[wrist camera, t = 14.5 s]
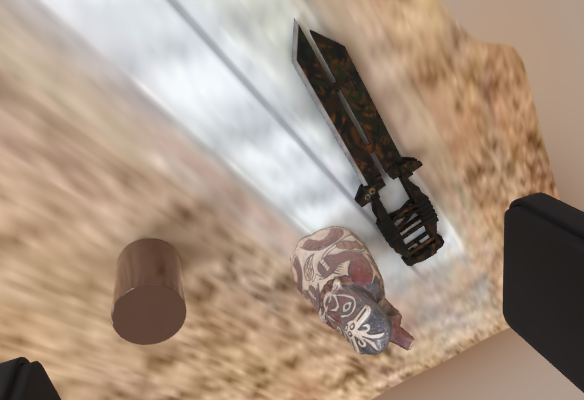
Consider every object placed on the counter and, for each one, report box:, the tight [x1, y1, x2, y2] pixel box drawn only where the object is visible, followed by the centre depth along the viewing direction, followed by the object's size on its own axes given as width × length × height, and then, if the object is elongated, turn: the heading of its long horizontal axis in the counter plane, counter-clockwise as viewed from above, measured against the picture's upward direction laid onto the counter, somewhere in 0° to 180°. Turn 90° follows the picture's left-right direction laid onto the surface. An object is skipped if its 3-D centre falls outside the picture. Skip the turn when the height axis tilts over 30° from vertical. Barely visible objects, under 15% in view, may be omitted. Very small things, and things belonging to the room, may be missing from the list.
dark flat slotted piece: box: [292, 18, 444, 266], centre depth 40 cm, size 25×6×1 cm, turn 26°
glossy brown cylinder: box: [111, 239, 186, 345], centre depth 36 cm, size 5×5×7 cm
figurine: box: [291, 226, 414, 355], centre depth 38 cm, size 7×7×12 cm
